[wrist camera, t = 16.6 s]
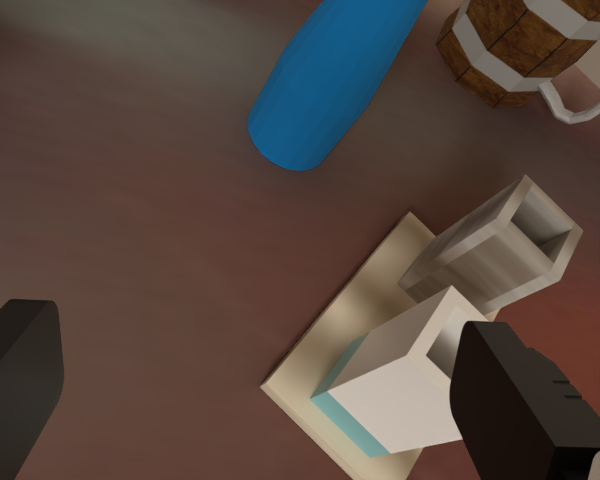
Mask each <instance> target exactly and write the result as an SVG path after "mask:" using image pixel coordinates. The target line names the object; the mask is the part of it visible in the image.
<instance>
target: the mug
mask: <svg viewBox="0 0 600 480" xmlns="http://www.w3.org/2000/svg"><path fill="white" fill-rule="evenodd" d="M599 39H600V0H465V2H464V3H463V4H462V5H461V6H460V7H459V8H458V9H457V10H456V11H455V12H454V13H453V14H452V15H451V16H450V17H448V18H447V19H446V20H445V23H444V25H443V28H442V30H441V32H440V35H439V37H438V40H437V42H436V45H437V47H438V49H439V51H440V53H441V55H442V57H443V58H444V60H445V62H446V64H447V66H448V68H449V70H450V72H451V74H452V76H453V77H454V79H455V81H456V82H457V83H459V84H460V85H461V86H463V87H464V88H466V89H467V90H468V91H470V92H471V93H473V94H474V95H475V96H477V97H478V98H480V99H481V100H482V101H484V102H485V103H487V104H488V105H489V106H491V107H492V108H506V107H523V106H524V105H525V104H526V103H527V102H528V101H529V100H530V99H531V98H532V97H533V95H534V94H535V93H536V92H537V91H538V90H539V91H540V92H541V94H542V96H543V97H544V99H545V100H546V102H547V104H548V106H549V108H550V110H551V111H552V113H553V115H554V117H555V118H557V119H559V120H561V121H563V122H565V123H567V124H574V123H578V122H583V121H588V120H590V119H592V118H593V117H595V116H597V115H598V114H600V101H599V102H597V103H596V104H594V105H593V106H592V107H590V108H589V109H587V110H585V111H582V112H578V113H573V112H571V111H569V110H567V109H565V108H564V106H563V103H562V101H561V99H560V96H559V94H558V93H557V91H556V90H555V88H554V86H553V85H552V83H551V82H550V80H551V79H552V78H554V77H555V76H556V75H558V74H559V73H561V72H562V71H564V70H565V69H567V68H568V67H570V66H571V65H572V64H574V63H575V62H577V61H578V60H579V59H580V58H581V57H582V56H583V55H584V54H585V53H586V52H587V51H588V50H589V49H590V48H591V47H592V45H594V44H595V43H596V42H597V40H599Z"/></svg>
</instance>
